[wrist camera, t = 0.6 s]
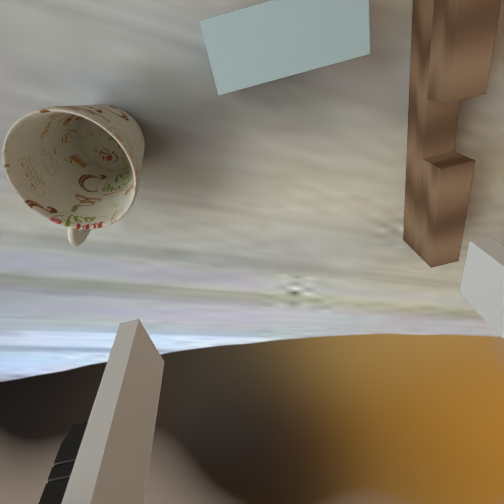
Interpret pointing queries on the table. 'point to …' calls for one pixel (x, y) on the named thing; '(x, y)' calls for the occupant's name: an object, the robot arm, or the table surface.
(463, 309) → the table surface
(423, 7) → the walnut rail
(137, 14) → the table surface
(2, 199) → the table surface
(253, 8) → the blue-grey notched block
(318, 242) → the table surface
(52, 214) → the mug
